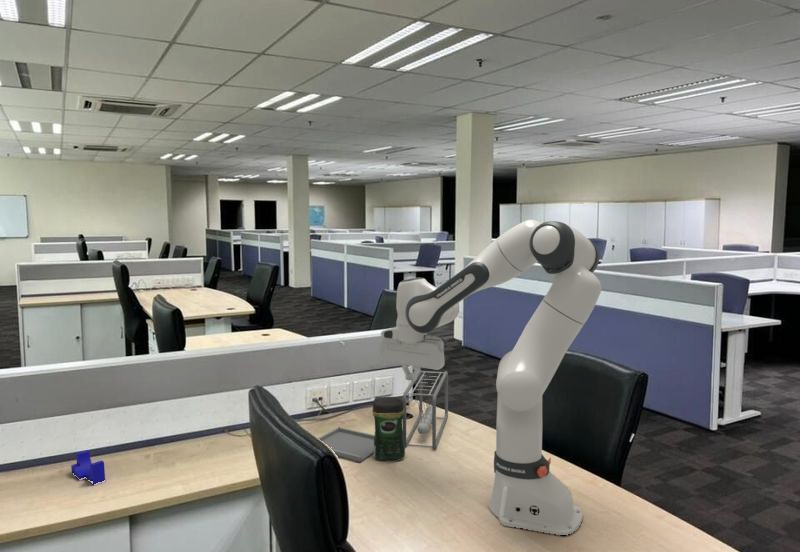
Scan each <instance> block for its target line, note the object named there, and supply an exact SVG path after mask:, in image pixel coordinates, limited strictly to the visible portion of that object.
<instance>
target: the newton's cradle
mask: <svg viewBox="0 0 800 552" xmlns="http://www.w3.org/2000/svg"><path fill="white" fill-rule="evenodd" d="M426 373H432V374H438V376H437V375H435V376H433V375H431V376H430V377H432V378H433V377H435V378H436V379H435V380H434V382H433V386H431V385H430V386H429V385H426V384H427V383H426V380H428V381H430V380H432V379H429V378H428V379H427V378H425V374H426ZM441 375H442V376H441ZM440 376H441V378H440ZM439 378H440V380H439V383H438V385H437V381H438V379H439ZM417 379H418V382H417V383H416V381H412V380H410V383H409V385H408V386H407V388H406V389H405V391H404V392H403V395H402V400H403V405H404V414H403V417H402V428H403V437H404V445H405V448H406V447H407V446H412V447H422V448H423V447H425V448H432V449H433V450H437V448H438V445H439V442H440V440H441V437H442V434H443V431H444V428H445V426H446V425H447V421H448V418H449V373H448V371H446V370H445V371H444V372H443V371H428V370H427V371H426V370H421V369H420V370H419V372H418V374H417ZM423 381H424V382H423ZM415 383H416V385H415ZM443 384H444V417H438V416H437V396H438V394H439V392H440V390H441V387H442V386H443ZM414 385H415V387H414V388H413V390H411V389H412V387H413V386H414ZM424 387H425V389H424ZM427 387H429V388H431V389H429V393H428V389H427ZM410 391H411V393H410ZM417 391H418V393H414V392H417ZM423 391H426V393H425V392H423ZM408 395H413V396H416V397H418V396H419V397H418V398H416V399H417V401H416V402H418V403H417V405H418V410H419V411H418V416H417V418H416V420H415V422H414V423H413V426H412V427H411V430H410V432H409V434H408V436H407V397H408ZM424 396H425V397H424ZM426 396H427V397H426ZM423 399H425V401H427V402H425V401H424V400H423ZM423 404H425V405H426V408H425V405H423ZM423 407H424V410H423ZM437 419H440V420H441V419H442V423H441V425H440V428H439V430H438V433H437ZM431 425H432V426H431ZM430 428H432V429H431V431H432V432H431V433H432V435H431V436H432V437H431V438H432V440H431V441H432V445H425V444H424V445H423V444H415V443H414V444H412V443H411V444H410V441H411V439H412V437H413V435H414V433H415V431H416V430H417V432H418V434H420V435H422V436H424V435H427V433H428V432H429V429H430Z"/></svg>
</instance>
